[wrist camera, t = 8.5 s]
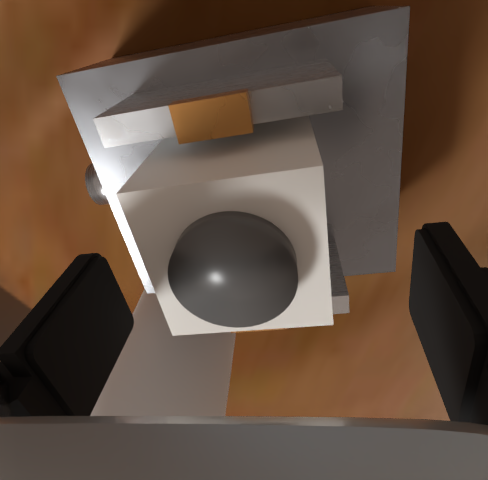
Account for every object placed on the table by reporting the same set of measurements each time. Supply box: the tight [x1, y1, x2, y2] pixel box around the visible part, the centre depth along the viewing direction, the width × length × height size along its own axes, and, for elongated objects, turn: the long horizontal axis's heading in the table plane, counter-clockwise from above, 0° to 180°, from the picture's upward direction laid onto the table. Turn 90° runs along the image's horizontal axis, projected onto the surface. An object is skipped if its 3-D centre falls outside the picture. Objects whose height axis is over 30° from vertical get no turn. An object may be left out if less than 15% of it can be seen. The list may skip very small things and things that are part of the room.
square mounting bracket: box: [56, 6, 410, 333], centre depth 18 cm, size 16×12×11 cm
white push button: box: [116, 116, 333, 336], centre depth 14 cm, size 6×6×7 cm
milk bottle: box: [90, 289, 236, 416], centre depth 21 cm, size 8×8×20 cm
